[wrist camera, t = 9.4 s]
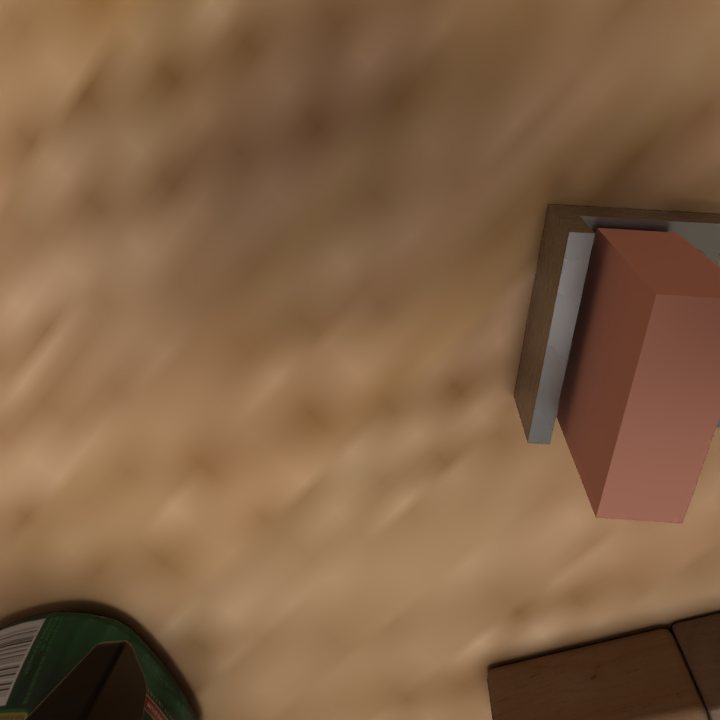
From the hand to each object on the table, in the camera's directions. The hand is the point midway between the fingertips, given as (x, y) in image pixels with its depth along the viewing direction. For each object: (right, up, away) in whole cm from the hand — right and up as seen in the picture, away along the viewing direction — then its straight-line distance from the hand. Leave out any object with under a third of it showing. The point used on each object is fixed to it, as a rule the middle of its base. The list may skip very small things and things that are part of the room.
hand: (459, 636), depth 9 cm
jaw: (+6, +4, +9) cm, 12 cm away
